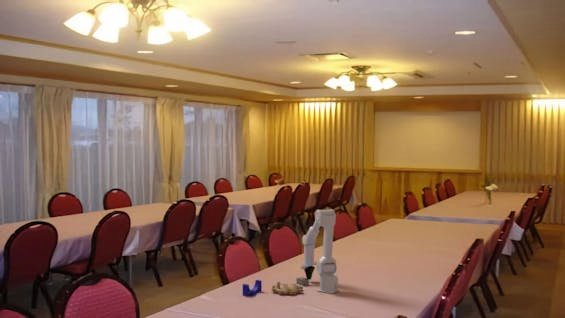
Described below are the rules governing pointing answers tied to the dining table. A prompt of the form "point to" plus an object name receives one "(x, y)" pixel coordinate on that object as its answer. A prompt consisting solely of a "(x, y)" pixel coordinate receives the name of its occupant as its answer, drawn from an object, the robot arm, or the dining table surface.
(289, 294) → the wheel base
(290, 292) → the sprocket wheel
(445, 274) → the dining table surface
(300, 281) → the link block
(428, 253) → the dining table surface
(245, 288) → the cable clip
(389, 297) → the dining table surface
